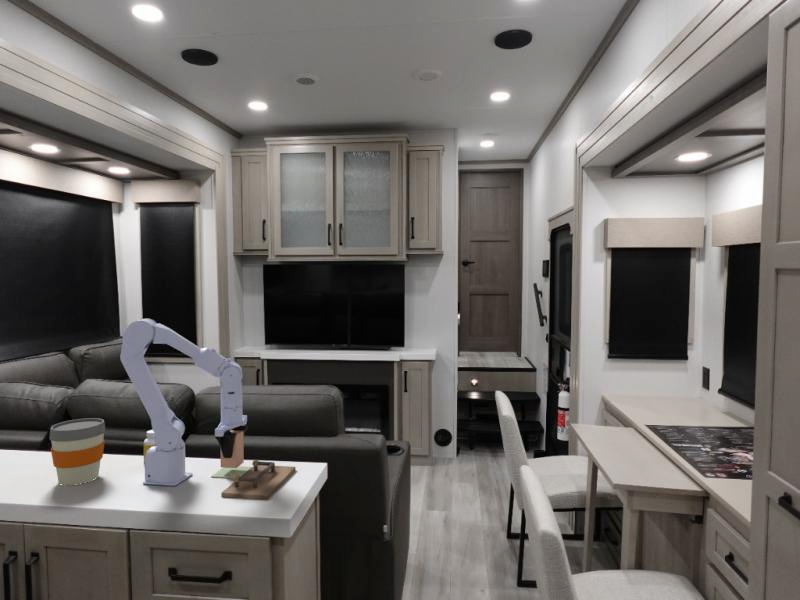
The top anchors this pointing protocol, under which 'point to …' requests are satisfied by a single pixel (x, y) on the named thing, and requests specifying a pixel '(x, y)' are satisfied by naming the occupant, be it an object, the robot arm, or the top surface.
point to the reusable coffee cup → (77, 449)
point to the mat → (231, 472)
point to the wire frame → (258, 481)
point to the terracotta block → (234, 452)
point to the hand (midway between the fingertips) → (232, 454)
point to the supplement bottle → (149, 442)
